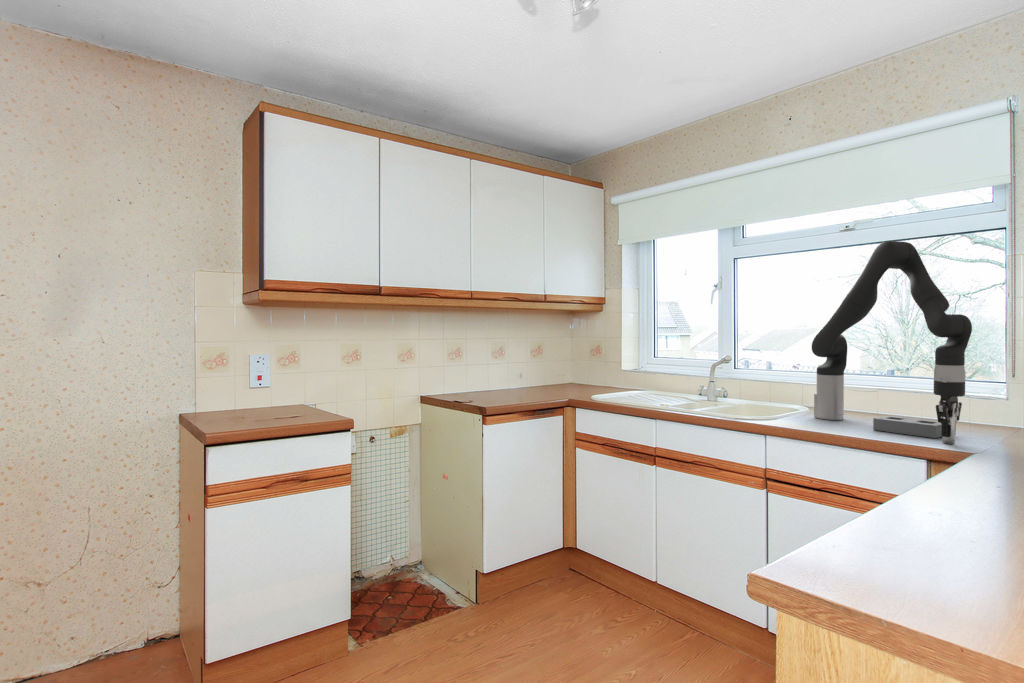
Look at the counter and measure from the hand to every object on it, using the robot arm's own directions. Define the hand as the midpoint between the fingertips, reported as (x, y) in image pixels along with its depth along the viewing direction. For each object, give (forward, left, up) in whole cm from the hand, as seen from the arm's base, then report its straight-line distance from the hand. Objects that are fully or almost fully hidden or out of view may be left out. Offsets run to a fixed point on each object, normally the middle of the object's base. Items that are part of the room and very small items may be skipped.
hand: (948, 435), depth 166 cm
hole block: (-14, +11, -2) cm, 18 cm away
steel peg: (0, 0, -2) cm, 2 cm away
